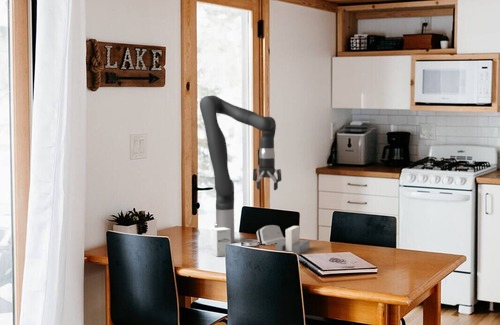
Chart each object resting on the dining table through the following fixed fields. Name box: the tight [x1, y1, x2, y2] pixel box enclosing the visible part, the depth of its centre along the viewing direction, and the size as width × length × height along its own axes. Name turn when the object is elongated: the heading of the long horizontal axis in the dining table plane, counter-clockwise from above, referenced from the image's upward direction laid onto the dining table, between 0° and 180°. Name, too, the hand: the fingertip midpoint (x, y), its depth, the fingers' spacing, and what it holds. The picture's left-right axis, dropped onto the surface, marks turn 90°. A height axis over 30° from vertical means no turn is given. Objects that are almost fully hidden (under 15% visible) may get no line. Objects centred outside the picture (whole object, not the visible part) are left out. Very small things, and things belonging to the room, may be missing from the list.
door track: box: [274, 238, 311, 255], centre depth 384 cm, size 16×12×4 cm
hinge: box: [256, 224, 286, 246], centre depth 406 cm, size 17×5×10 cm, turn 140°
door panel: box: [284, 225, 301, 251], centre depth 384 cm, size 12×3×10 cm, turn 158°
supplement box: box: [209, 227, 232, 257], centre depth 376 cm, size 7×7×13 cm
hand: (267, 189), depth 396 cm, fingers open, 8 cm apart
